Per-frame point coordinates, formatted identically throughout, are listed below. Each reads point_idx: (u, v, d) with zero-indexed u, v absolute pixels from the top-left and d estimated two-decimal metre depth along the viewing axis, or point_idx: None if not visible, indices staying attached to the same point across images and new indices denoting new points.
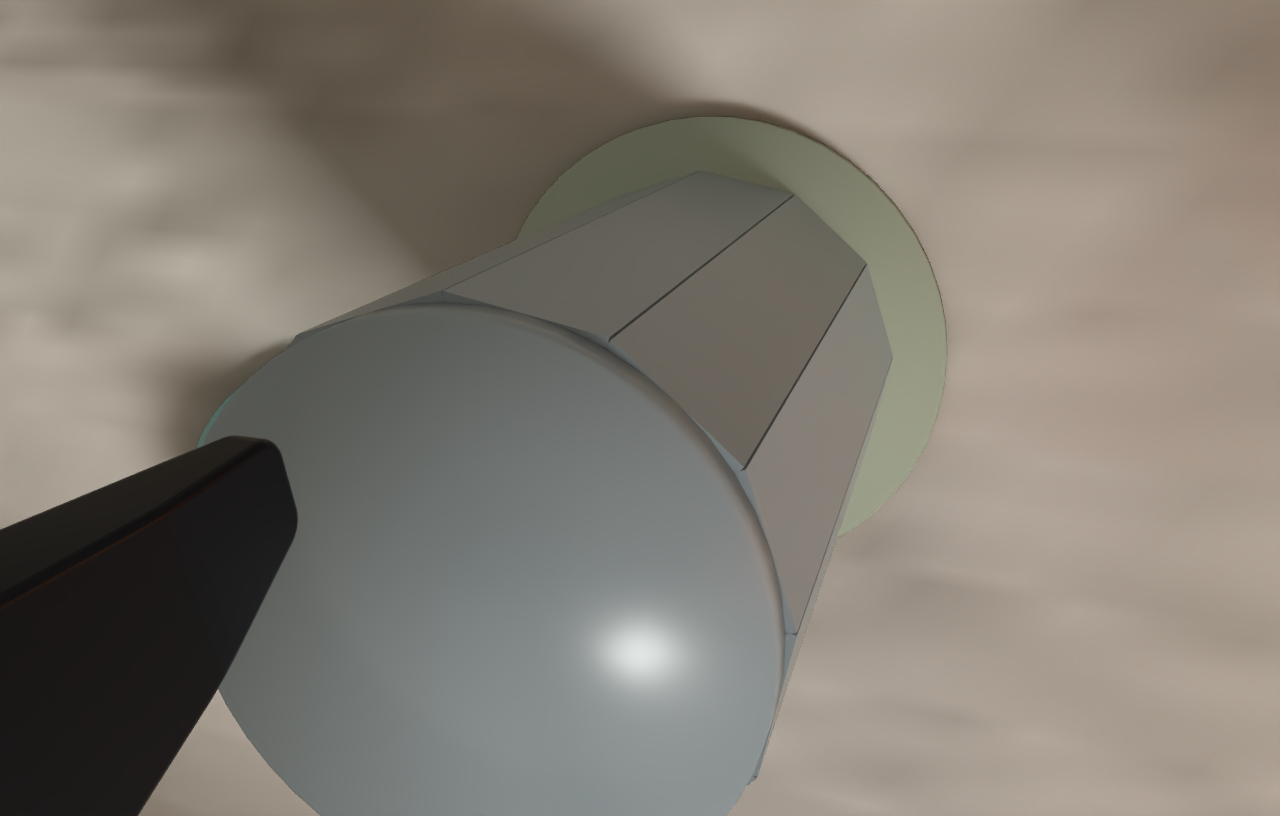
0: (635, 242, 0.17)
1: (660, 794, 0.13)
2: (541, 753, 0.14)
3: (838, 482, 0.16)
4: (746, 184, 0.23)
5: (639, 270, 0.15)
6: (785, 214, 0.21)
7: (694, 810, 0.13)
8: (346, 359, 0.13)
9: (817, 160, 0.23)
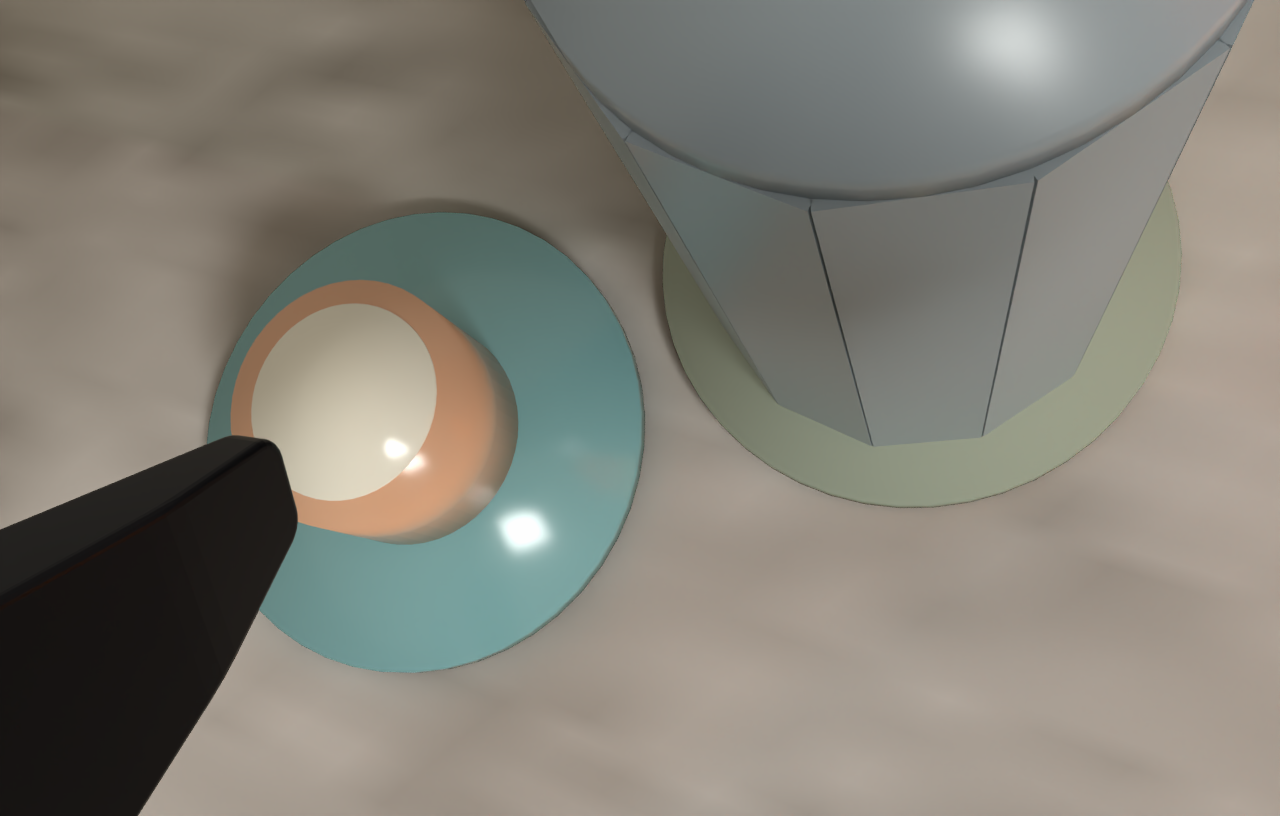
0: None
1: None
2: None
3: None
4: None
5: None
6: None
7: (1167, 19, 0.10)
8: None
9: None
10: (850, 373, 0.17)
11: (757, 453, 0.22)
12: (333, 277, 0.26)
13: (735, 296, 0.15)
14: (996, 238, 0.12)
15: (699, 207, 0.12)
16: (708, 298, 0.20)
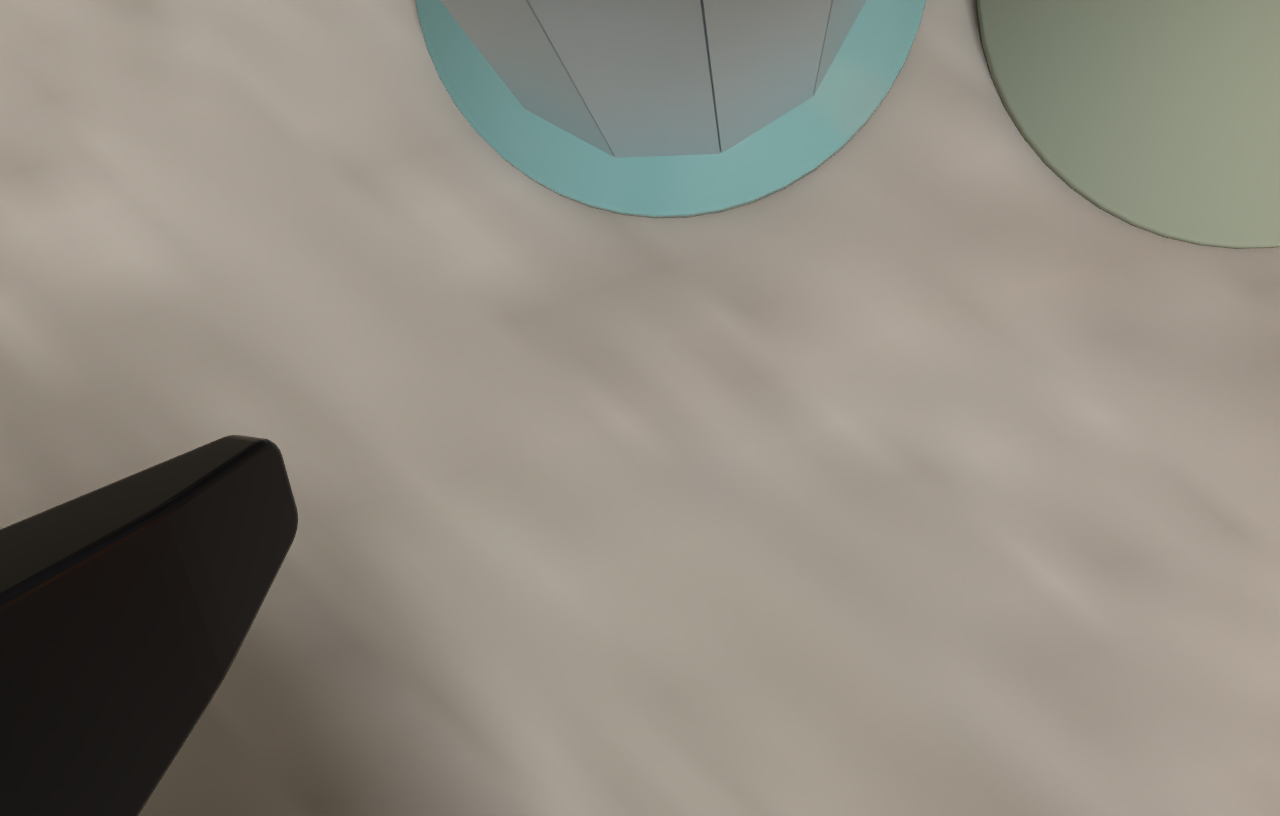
0: None
1: None
2: None
3: None
4: None
5: None
6: None
7: None
8: None
9: None
10: (565, 71, 0.16)
11: (1022, 118, 0.21)
12: None
13: None
14: None
15: None
16: None
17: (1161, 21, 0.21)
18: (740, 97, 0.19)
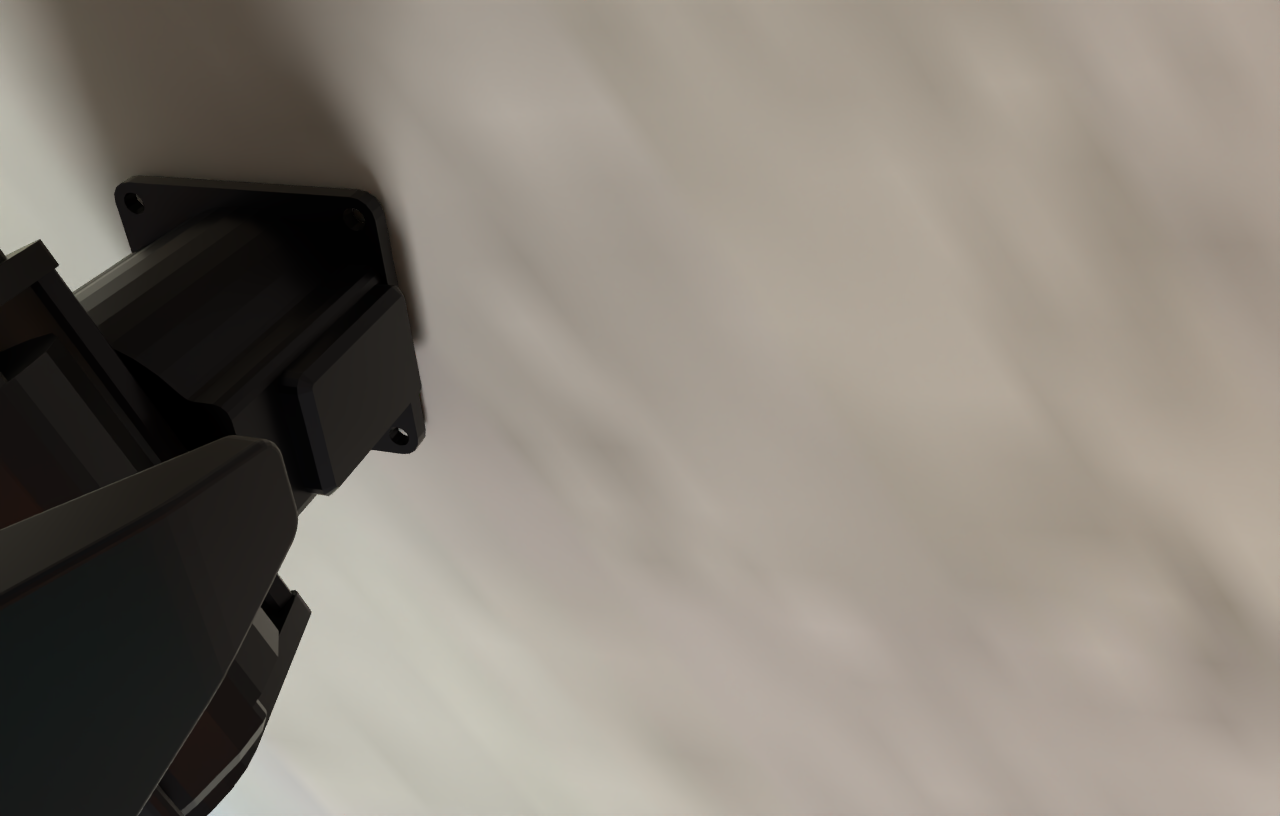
0: None
1: None
2: None
3: None
4: None
5: None
6: None
7: None
8: None
9: None
10: None
11: None
12: None
13: None
14: None
15: None
16: None
17: None
18: None
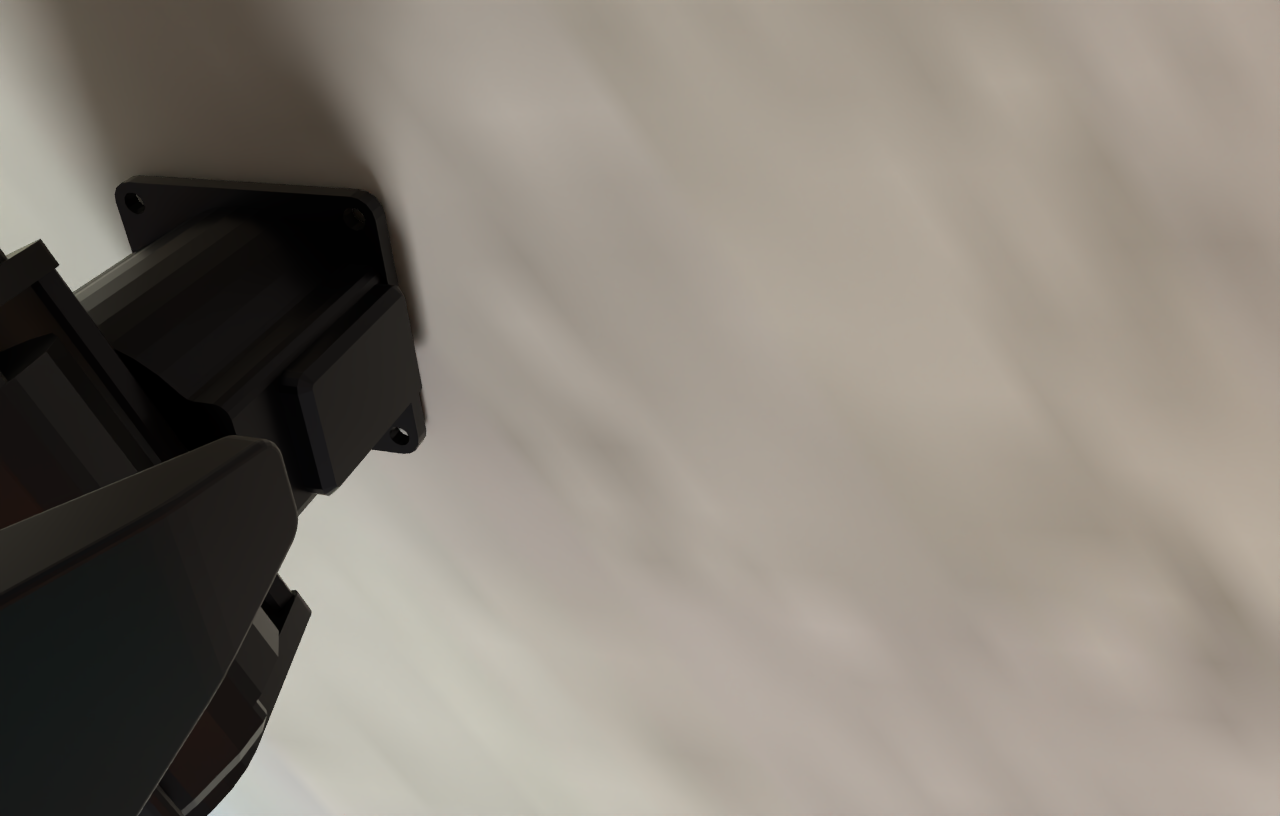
0: None
1: None
2: None
3: None
4: None
5: None
6: None
7: None
8: None
9: None
10: None
11: None
12: None
13: None
14: None
15: None
16: None
17: None
18: None
